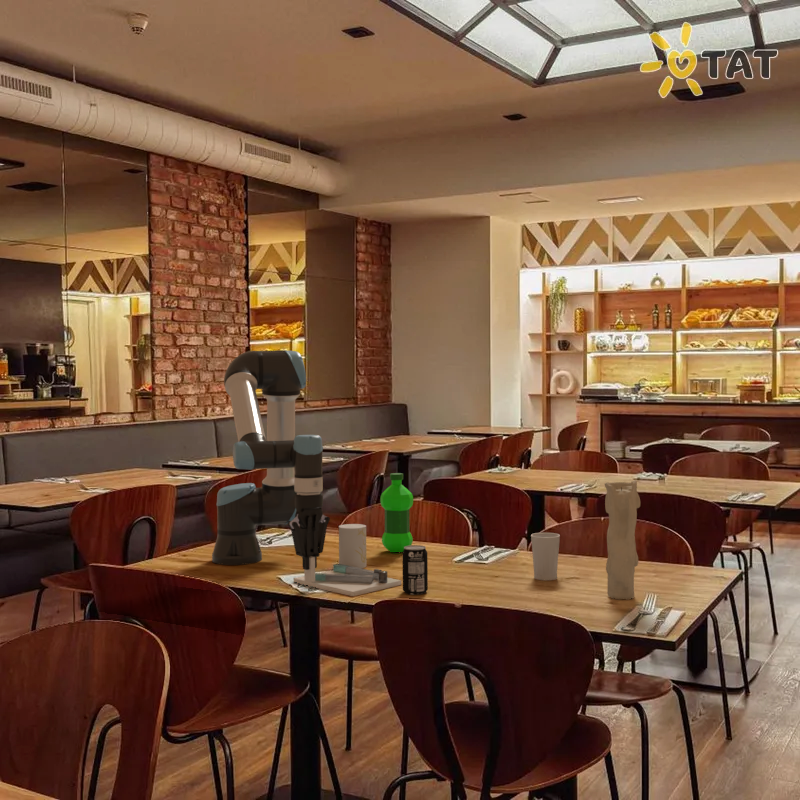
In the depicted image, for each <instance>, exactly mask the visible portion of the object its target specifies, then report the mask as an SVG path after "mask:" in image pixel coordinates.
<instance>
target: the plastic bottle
mask: <svg viewBox="0 0 800 800" xmlns="http://www.w3.org/2000/svg"><path fill="white" fill-rule="evenodd" d="M389 480H390V481H391V484H390V485H389V486H388V487H387V488H386V489H385V490H384V491H383V492H382V493H381V495H380V496H379V497H380V500H379V501H380V506H381V507H382V508H383V509H384V532H383V534H382V536H381V542H382V545H383V547H384V548H385V549H386V550H387V551H388V552H389V551H390V552H403V551H404V547H405V546H409V545H412V544H413V542H414V541H413V539H414V538H413V536H412V533H411V531H410V509H411V508H412V507H413V506H414V505H413V504H414V495H413V493H412V492H411V491H410V490H409V489H408V488H407V487H405V486H404V484H402V481H403V480H404V473H401V472H395V473H394V472H393V473H389ZM390 552H389V553H390Z"/></svg>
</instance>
